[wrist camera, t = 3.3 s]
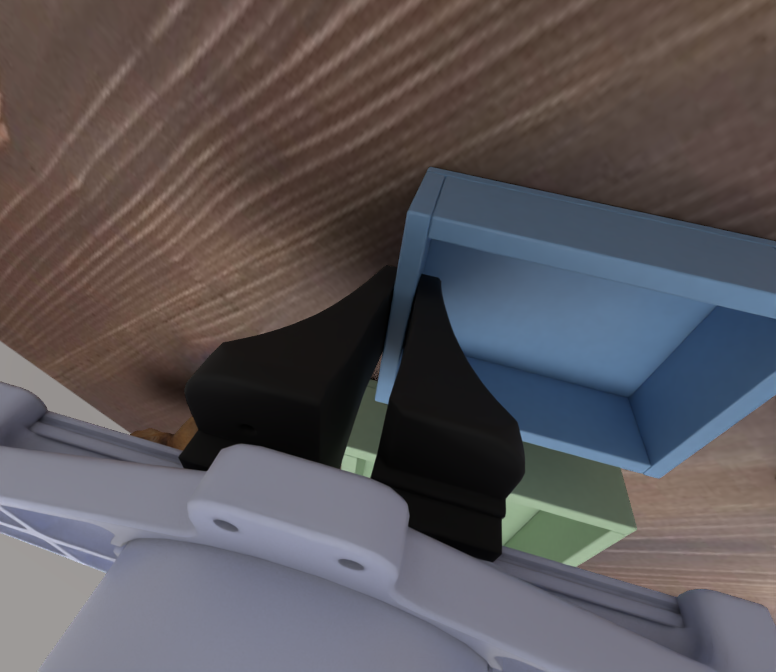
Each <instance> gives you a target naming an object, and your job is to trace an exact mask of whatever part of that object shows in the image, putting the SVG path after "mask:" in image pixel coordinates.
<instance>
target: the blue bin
mask: <svg viewBox="0 0 776 672" xmlns="http://www.w3.org/2000/svg"><path fill="white" fill-rule="evenodd" d="M421 274H425V275H430V276H434V277H438V278H440V280H441V287H442V294H443V299H444V304H445V307H446V311H447V314H448V317H449V320H450V323H451V326H452V329H453V331H454V334H455V336H456V338H457V341H458V343H459V345H460V347H461V349H462V351H463V353H464V355H465V356H466V358H467V360H468V362H469V363H470V365H471V367H472V368H473V370H474V371H475V373H476V374H477V375H478V377H479V378H480V380H481V381H482V383H483V384H484V385H485V386H486V388H487V389H488V390H489V391H490V393H491V394H492V395H493V396H494V397H495V399H496V400H497V401H498V402H499V403H500V404H501V405H502V406H503V407H504V408H505V409H506V410H507V411H508V412H509V413H510V414H511V415H512V416H513V417H514V418H515V419H516V421H517V422H518V425H519V429H520V433H521V437H522V441H524V442H528V443H531V444H535V445H539V446H542V447H546V448H550V449H553V450H557V451H561V452H564V453H568V454H571V455H575V456H579V457H582V458H586V459H590V460H593V461H597V462H601V463H604V464H608V465H612V466H615V467H619V468H623V469H626V470H630V471H634V472H637V473H643V474H644V475H647V476H651V477H655V478H661V477H662V476H664V475H665V474H666V473H668V472H669V471H670V470H672V469H673V468H675V467H676V466H677V465H679V464H680V463H682V462H683V461H684V460H686V459H687V458H689V457H690V456H691V455H693V454H694V453H695V452H697V451H698V450H700V449H701V448H702V447H704V446H705V445H707V444H708V443H709V442H711V441H712V440H714V439H715V438H716V437H718V436H719V435H720V434H722V433H723V432H725V431H726V430H727V429H729V428H730V427H732V426H733V425H734V424H736V423H737V422H738V421H740V420H741V419H743V418H744V417H745V416H747V415H748V414H750V413H751V412H752V411H754V410H755V409H757V408H758V407H759V406H761V405H762V404H763V403H765V402H766V401H768V400H769V399H770V398H772V397H773V396H775V395H776V241H772V240H767V239H763V238H758V237H753V236H749V235H744V234H739V233H735V232H730V231H726V230H721V229H716V228H712V227H707V226H702V225H698V224H693V223H688V222H684V221H679V220H675V219H670V218H665V217H661V216H656V215H651V214H647V213H642V212H638V211H633V210H628V209H624V208H619V207H614V206H610V205H605V204H601V203H596V202H591V201H587V200H582V199H577V198H573V197H568V196H564V195H559V194H554V193H550V192H545V191H540V190H536V189H531V188H527V187H522V186H517V185H513V184H508V183H503V182H499V181H494V180H490V179H485V178H480V177H476V176H471V175H466V174H462V173H457V172H453V171H448V170H443V169H439V168H434V167H429V168H428V170H427V172H426V174H425V176H424V178H423V180H422V182H421V185H420V187H419V189H418V191H417V193H416V195H415V197H414V199H413V201H412V203H411V205H410V207H409V210H408V212H407V216H406V222H405V228H404V234H403V239H402V245H401V251H400V256H399V262H398V268H397V274H396V279H395V285H394V291H393V297H392V302H391V308H390V314H389V320H388V325H387V331H386V337H385V343H384V348H383V354H382V360H381V366H380V371H379V377H378V383H377V389H376V394H375V401H377V402H381V403H385V404H388V402H389V397H390V394H391V392H392V389H393V386H394V382H395V379H396V376H397V373H398V370H399V367H400V364H401V359H402V353H403V347H404V343H405V338H406V334H407V329H408V325H409V321H410V316H411V312H412V307H413V303H414V299H415V294H416V290H417V285H418V282H419V279H420V277H421Z"/></svg>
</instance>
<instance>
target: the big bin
mask: <svg viewBox="0 0 776 672" xmlns="http://www.w3.org/2000/svg"><path fill="white" fill-rule="evenodd" d="M377 383H378V381H375V380H371V379H370V381H369V383H368V385H367V388H366V390H365V393H364V395H363V398H362V401H361V404H360V407H359V410H358V413H357V416H356V419H355V422H354V425H353V428H352V431H351V434H350V438H349V441H348V444H347V447H346V450H345V453H344V457H343V460H342V465H341V470H344V471H348V472H351V473H355V474H358V475H362V476H365V477H368V478H370V477H371V473H372V470H373V466H374V463H375V459H376V456H377V452H378V447H379V443H380V438H381V434H382V429H383V424H384V420H385V415H386V411H387V406H388V404H385V403H381V402H377V401H375V394H376V389H377ZM522 442H523V447H524V453H525V474H524V476H523V478H522V480H521V482H520V483H519V484H518V485H517V486H516V488H515V489H514V490H513V491H512V492H511V494H510V495H509V496H508V497H507V498H506V515H505V518H504V519H502V546H506V547H509V548H512V549H516V550H519V551H523V552H526V553H529V554H533V555H536V556H539V557H543V558H546V559H550V560H553V561H556V562H560V563H563V564H566V565H570V566H573V567H577V566H578V565H580V564H581V563H583V562H585V561H586V560H588V559H590V558H591V557H593V556H595V555H596V554H598V553H599V552H601V551H603V550H604V549H606V548H608V547H609V546H611V545H613V544H614V543H616V542H617V541H619V540H621V539H622V538H624V537H626V536H627V535H629V534H631V533H632V532H634V531H635V530H637V527H636V523H635V519H634V516H633V512H632V508H631V505H630V501H629V497H628V494H627V490H626V486H625V483H624V479H623V475H622V472H621V468H619V467H615V466H612V465H608V464H604V463H601V462H597V461H593V460H590V459H586V458H582V457H579V456H575V455H571V454H568V453H564V452H561V451H557V450H553V449H550V448H546V447H542V446H539V445H535V444H531V443H528V442H524V441H522Z"/></svg>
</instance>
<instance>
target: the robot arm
mask: <svg viewBox="0 0 776 672" xmlns="http://www.w3.org/2000/svg"><path fill="white" fill-rule="evenodd" d="M396 274H397V268H396V267H392V266H388V265H386V266H384V267H383V268H382V269H381V270H380V271H378V272H377V273H376V274H375V275H374V276H373V277H372V278H370V279H369V280H368V281H367V282H366V283H364V284H363V285H362V286H360V287H359V288H358V289H356V290H355V291H354V292H352V293H351V294H350V295H348V296H347V297H345V298H344V299H342V300H341V301H339V302H338V303H336V304H334V305H333V306H331V307H329V308H327V309H326V310H324V311H322V312H320V313H318V314H316V315H314V316H312V317H309V318H307V319H304V320H302V321H300V322H297V323H295V324H292V325H290V326H287V327H284V328H281V329H278V330H274V331H271V332H268V333H264V334H260V335H256V336H252V337H248V338H243V339H238V340H234V341H229V342H223V343H222V344H221V345H220V346H219V347H218V348H217V349H216V350H215V351H214V352H213V353H212V354H211V355H210V356H209V357H208V358H207V359H206V361H205V362H204V363H203V364H202V365H201V366H200V368H199V369H198V370H197V371H196V372H195V373H194V375H193V376H192V377H191V378H190V379H189V380H188V382H187V383H186V386H185V390H184V392H185V396H186V401H187V404H188V406H189V409H190V411H191V414H192V416H193V418H194V421H195V423H196V426H197V428H198V431H197V432H196V434H195V435H194V436H193V438H192V439H191V440H190V442H189V443H188V444H187V446H186V447H185V449H184V450H183V451H182V450H179V449H175V448H172V447H169V446H165V445H162V444H159V443H155V442H152V441H148V440H145V439H142V438H138V437H135V436H132V435H128V434H125V433H121V432H118V431H114V430H111V429H108V428H105V427H101V426H98V425H94V424H91V423H88V422H84V421H81V420H77V419H74V418H71V417H67V416H64V415H60V414H57V413H54V412H50V411H48V410H47V407H46V406H45V404H44V403H43V402H42V401H41V399H40V398H39V397H37V396H36V395H35V394H33V393H32V392H30V391H28V390H26V389H23V388H21V387H17V386H14V385H10V384H7V383H4V382H0V533H2V534H5V535H8V536H10V537H13V538H16V539H18V540H21V541H24V542H27V543H29V544H31V545H34V546H37V547H40V548H42V549H45V550H48V551H50V552H53V553H55V554H58V555H60V556H63V557H66V558H68V559H71V560H73V561H76V562H79V563H81V564H84V565H86V566H89V567H92V568H95V569H97V570H100V571H102V572H104V573H106V575H105V576H104V578H103V579H102V580H101V582H100V583H99V585H98V586H97V587H96V589H95V590H94V592H93V593H92V594H91V596H90V598H89V599H88V600H87V602H86V603H85V604H84V606H83V607H82V609H81V610H80V611H79V613H78V614H77V616H76V617H75V618H74V620H73V621H72V623H71V624H70V626H69V627H68V628H67V630H66V631H65V633H64V634H63V635H62V637H61V638H60V640H59V641H58V642H57V644H56V645H55V647H54V648H53V650H52V651H51V652H50V654H49V655H48V657H47V658H46V660H45V661H44V662H43V664H42V665H41V666H40V668H39V669H38V671H37V672H776V626H775V624H774V622H773V620H772V617H771V615H770V613H769V611H768V609H767V608H766V607H765V606H763V605H761V604H758V603H755V602H751V601H748V600H745V599H741V598H738V597H734V596H731V595H728V594H724V593H721V592H717V591H713V590H708V589H694V590H689V591H686V592H684V593H682V594H680V595H679V596H678V597H674V596H671V595H668V594H664V593H661V592H657V591H654V590H651V589H647V588H644V587H641V586H637V585H634V584H630V583H627V582H624V581H620V580H617V579H614V578H610V577H607V576H604V575H600V574H597V573H593V572H590V571H587V570H583V569H580V568H577V567H573V566H570V565H566V564H563V563H560V562H556V561H553V560H550V559H546V558H543V557H539V556H536V555H533V554H529V553H526V552H523V551H519V550H516V549H512V548H509V547H506V546H502V519H504V518H505V515H506V498H507V497H508V496H509V495H510V494H511V492H512V491H513V490H514V489H515V488H516V486H517V485H518V484H519V483H520V482H521V480H522V478H523V476H524V474H525V453H524V447H523V442H522V437H521V433H520V429H519V425H518V422H517V421H516V419H515V418H514V417H513V416H512V415H511V414H510V413H509V412H508V411H507V410H506V409H505V408H504V407H503V406H502V405H501V404H500V403H499V402H498V401H497V400H496V399H495V397H494V396H493V395H492V394H491V393H490V391H489V390H488V389H487V388H486V386H485V385H484V384H483V383H482V381H481V380H480V378H479V377H478V375H477V374H476V373H475V371H474V370H473V368H472V367H471V365H470V363H469V362H468V360H467V358H466V356H465V355H464V353H463V351H462V349H461V347H460V345H459V343H458V341H457V338H456V336H455V334H454V331H453V329H452V326H451V323H450V320H449V317H448V314H447V311H446V307H445V304H444V299H443V294H442V287H441V280H440V278H438V277H434V276H430V275H425V274H421V277H420V279H419V282H418V285H417V290H416V294H415V299H414V303H413V307H412V312H411V316H410V321H409V325H408V329H407V334H406V338H405V343H404V347H403V353H402V359H401V364H400V367H399V370H398V373H397V376H396V379H395V382H394V386H393V389H392V392H391V394H390V397H389V402H388V406H387V411H386V415H385V420H384V424H383V429H382V434H381V438H380V443H379V447H378V452H377V456H376V459H375V463H374V466H373V470H372V473H371V477H370V478H368V477H365V476H362V475H358V474H355V473H351V472H348V471H344V470H341V469H340V466H341V463H342V460H343V457H344V453H345V450H346V447H347V444H348V441H349V438H350V434H351V431H352V428H353V425H354V422H355V419H356V416H357V413H358V410H359V407H360V404H361V401H362V398H363V395H364V393H365V390H366V388H367V385H368V383H369V381H370V379H371V376H372V374H373V372H374V370H375V368H376V365H377V363H378V361H379V359H380V356H381V354H382V352H383V348H384V343H385V337H386V331H387V325H388V320H389V314H390V308H391V302H392V297H393V291H394V285H395V279H396Z"/></svg>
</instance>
